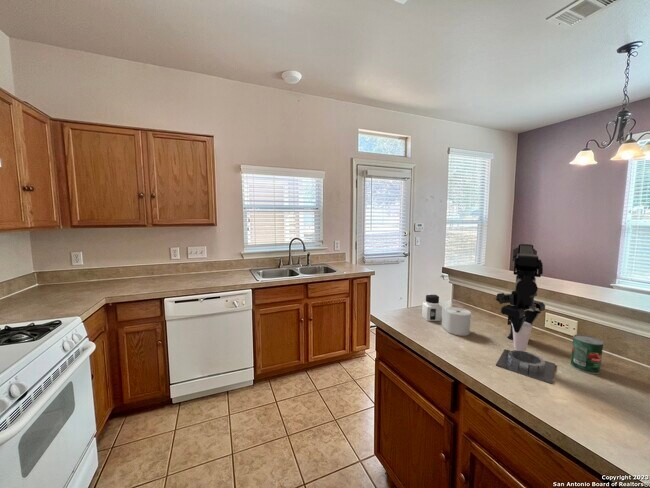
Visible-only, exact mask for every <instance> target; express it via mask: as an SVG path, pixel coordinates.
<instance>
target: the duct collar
mask: <svg viewBox="0 0 650 488" xmlns="http://www.w3.org/2000/svg"><path fill="white" fill-rule="evenodd" d="M495 366H496V367H500V368H501V369H505V370H508V371H511V372H514V373H518V374H520V375H524V376H526V377H530V378H531V379H535V380H538V381H541V382H545V383H548V384H551V385H552V384H553V379H554V373H555V368H556V363H554V362H551V361H549V360H545V359H544V358H543V357H541V356H539V355H537V354H535V353H533V352H528V351H520V350H517V349H514V350H509V349H506V348H505V349H503V351H502V353H501V354H500V356H499V358H498V360H497V362H496V363H495Z"/></svg>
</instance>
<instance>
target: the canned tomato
mask: <svg viewBox="0 0 650 488" xmlns="http://www.w3.org/2000/svg"><path fill="white" fill-rule="evenodd" d="M603 348H604V341H602V340H601V339H599V338H597V337H594V336H590V335H587V334H586V335H585V334H574V335H573V336H572V345H571V354H570V363H569V364H570V365H571V367H573V368H574V369H576V370H578V371H580V372H583V373H586V374H591V375H592V374H594V375H598V374H600V373H601V367H602V357H603Z"/></svg>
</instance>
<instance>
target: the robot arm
mask: <svg viewBox="0 0 650 488" xmlns="http://www.w3.org/2000/svg"><path fill="white" fill-rule="evenodd" d="M512 262H513V275H515V288H514V290H512V291H511V293H504V292H502V293H497V294H496V298H495V300H496V301H497V302H498V304H499V305H503V304H506V305H503V306H502V307H500V314H501V315H502V314H503V315H504V316H505V315H506V316H507V325H509V326H510V333H509V335H508V336H507V339H510V340H513V328H514V331H515V332H517V333H518V332H519V331H520V329H521V327H522V325H523V323H524V322H527V323H530V324H531V325H532V326H533V323H534V322H535V320H536V319H537V318H538V317H539V315H540V314H542V312H543V311H546V304H545V303H544V302H542V301H539V300H535V297H537V296H538V293H537V292H538V285H537V282H536V279H537V278H541V276H542V275H543V273H544V270H543V269H544V266H543V262H542V259H539V255H538V251H537V250H536V249H535V248H534V245H533V244H532V243H531V244H528V243H519V244H518V246H517V247H516V248H514V249H513V250H512ZM524 315H525V316H524ZM511 323H512V324H513V327H512V325H511Z"/></svg>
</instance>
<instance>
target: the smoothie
mask: <svg viewBox="0 0 650 488" xmlns="http://www.w3.org/2000/svg"><path fill="white" fill-rule="evenodd" d="M524 316H525V315H524ZM511 325H512V327H513V324H512V323H511ZM511 325H510V326H511ZM532 329H533V324H532V325H531V324H530V323H527V322H524V323H523V325H522V327H521V329H520V331H519V332H518V333H517V332H515V331H514V328H513V339H512V341H513V348H514V350H519V351H525V352H527V351H526V350H527V347H528V343H529V340H530V336H531V331H532Z"/></svg>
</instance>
